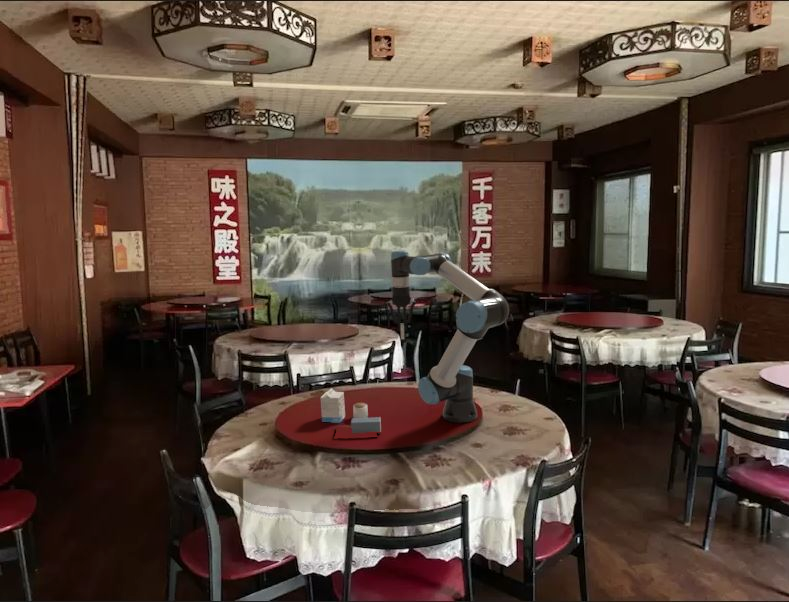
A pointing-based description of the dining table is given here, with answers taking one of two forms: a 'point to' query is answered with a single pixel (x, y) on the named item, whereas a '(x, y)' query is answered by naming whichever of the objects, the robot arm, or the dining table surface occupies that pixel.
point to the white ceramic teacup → (360, 410)
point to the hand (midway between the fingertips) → (402, 338)
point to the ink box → (332, 406)
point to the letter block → (366, 425)
